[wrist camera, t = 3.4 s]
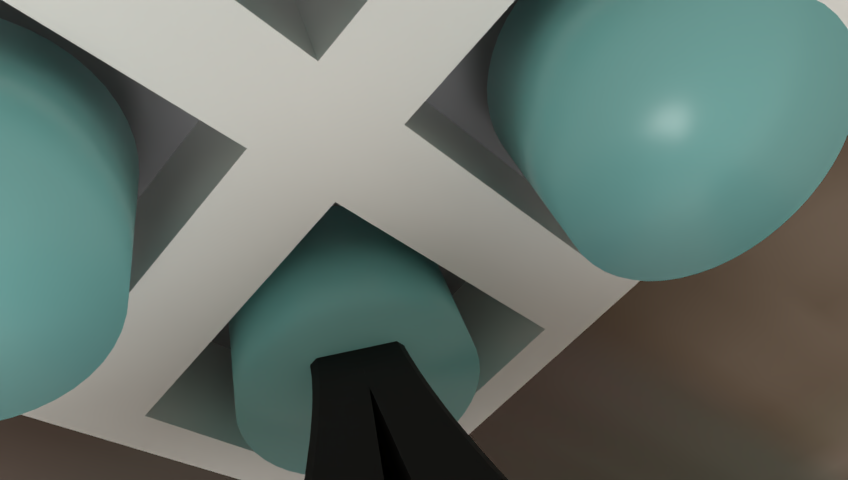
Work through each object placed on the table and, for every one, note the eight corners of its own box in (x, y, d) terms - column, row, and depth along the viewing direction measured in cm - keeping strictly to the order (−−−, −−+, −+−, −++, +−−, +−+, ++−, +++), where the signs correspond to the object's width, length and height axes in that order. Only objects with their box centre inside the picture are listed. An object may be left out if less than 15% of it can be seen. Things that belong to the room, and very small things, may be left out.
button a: (349, 393, 15) (374, 498, 13) (182, 323, 13) (183, 437, 11) (476, 266, 14) (526, 360, 12) (318, 166, 11) (347, 261, 10)
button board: (350, 420, 16) (373, 519, 14) (-356, 144, 9) (-494, 262, 7) (787, -5, 13) (897, 49, 11) (166, -938, 6) (157, -1251, 4)
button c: (591, 221, 12) (669, 321, 10) (432, 95, 10) (493, 191, 8) (775, 44, 11) (904, 119, 9) (641, -139, 9) (771, -94, 7)
